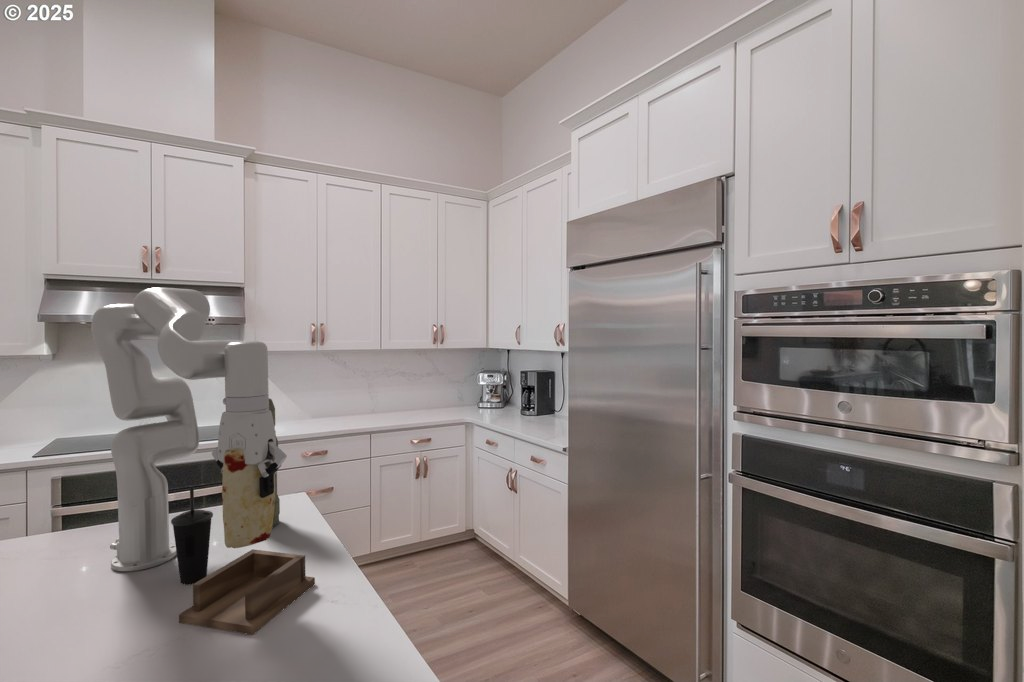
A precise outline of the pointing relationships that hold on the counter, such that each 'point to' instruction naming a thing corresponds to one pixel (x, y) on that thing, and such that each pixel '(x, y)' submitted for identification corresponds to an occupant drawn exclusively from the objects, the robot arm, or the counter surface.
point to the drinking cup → (192, 542)
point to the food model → (244, 502)
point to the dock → (248, 591)
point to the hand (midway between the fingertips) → (249, 493)
